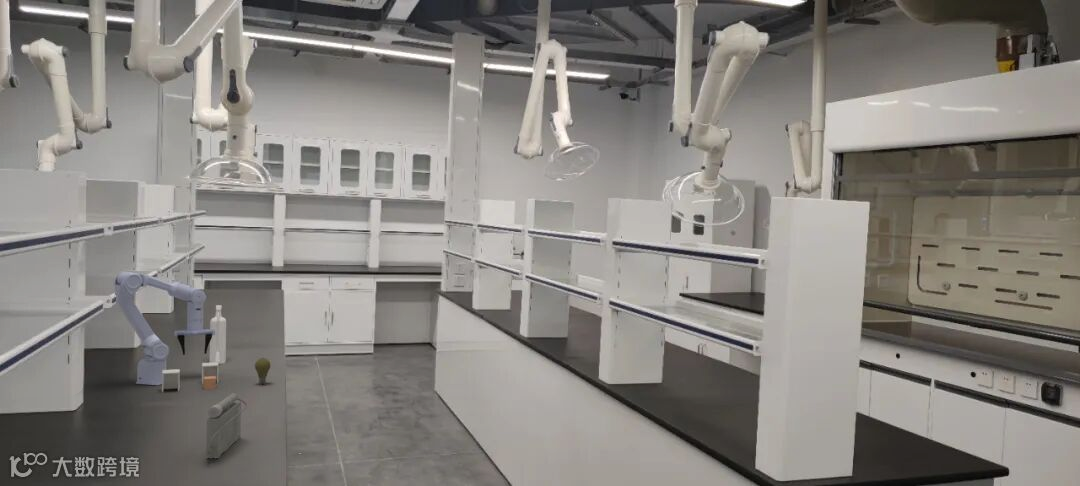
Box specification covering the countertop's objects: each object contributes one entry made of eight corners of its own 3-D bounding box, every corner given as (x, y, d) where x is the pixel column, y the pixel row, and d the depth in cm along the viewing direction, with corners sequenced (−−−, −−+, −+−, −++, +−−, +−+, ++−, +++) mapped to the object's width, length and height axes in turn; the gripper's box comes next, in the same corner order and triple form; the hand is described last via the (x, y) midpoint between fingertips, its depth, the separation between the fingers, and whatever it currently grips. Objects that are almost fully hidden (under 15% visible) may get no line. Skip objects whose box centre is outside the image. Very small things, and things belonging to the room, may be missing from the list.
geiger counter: (227, 390, 221) (195, 412, 196) (249, 390, 221) (220, 412, 196) (226, 437, 221) (194, 465, 196) (248, 437, 222) (219, 465, 197)
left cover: (161, 392, 270) (162, 373, 270) (162, 388, 275) (162, 370, 275) (179, 391, 273) (179, 372, 272) (179, 387, 278) (179, 369, 277)
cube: (203, 389, 277) (204, 379, 277) (203, 387, 280) (203, 376, 280) (215, 389, 278) (215, 378, 278) (215, 386, 282) (215, 376, 282)
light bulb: (264, 386, 285) (265, 360, 284) (251, 385, 286) (252, 358, 286) (273, 383, 290) (273, 357, 290) (259, 381, 291) (260, 356, 291)
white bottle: (207, 365, 317) (209, 306, 317) (209, 361, 328) (212, 303, 328) (224, 365, 319) (227, 306, 319) (226, 360, 330) (228, 304, 330)
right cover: (202, 384, 285) (202, 365, 284) (201, 381, 290) (202, 363, 289) (218, 383, 287) (218, 365, 287) (217, 380, 292) (218, 362, 292)
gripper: (174, 321, 287) (173, 356, 288) (215, 320, 293) (215, 354, 294) (174, 318, 294) (174, 353, 294) (215, 317, 300) (214, 351, 300)
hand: (194, 353), depth 295 cm, fingers open, 7 cm apart
